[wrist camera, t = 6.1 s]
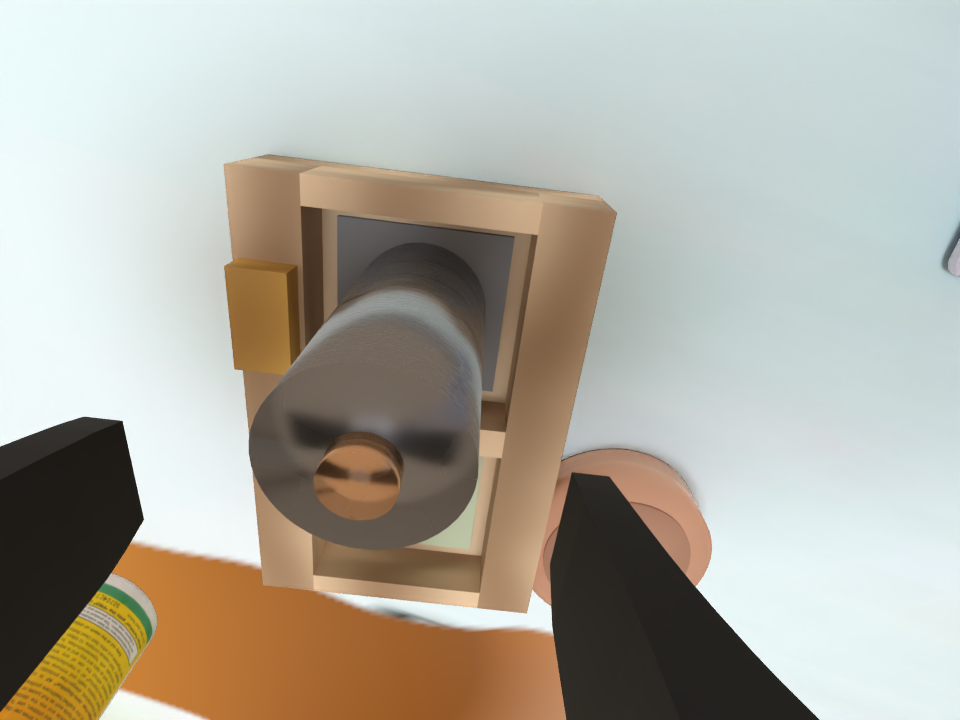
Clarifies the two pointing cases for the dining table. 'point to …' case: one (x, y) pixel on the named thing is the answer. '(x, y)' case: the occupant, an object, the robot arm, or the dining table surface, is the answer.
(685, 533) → the dish
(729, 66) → the dining table surface
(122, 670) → the supplement bottle
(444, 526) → the cell
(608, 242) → the board
